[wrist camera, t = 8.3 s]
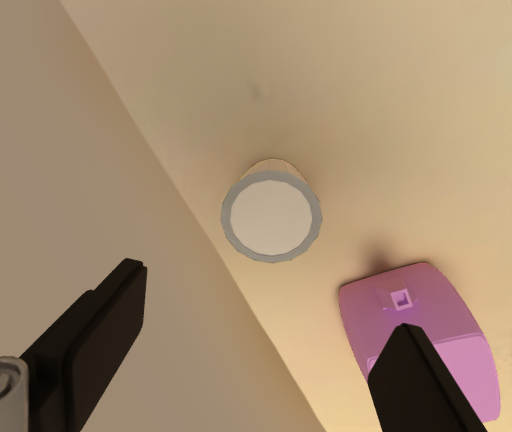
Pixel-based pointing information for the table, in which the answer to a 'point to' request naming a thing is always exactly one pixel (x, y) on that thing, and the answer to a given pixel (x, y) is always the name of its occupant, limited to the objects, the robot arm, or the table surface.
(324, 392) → the table surface
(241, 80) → the table surface
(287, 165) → the beige cup
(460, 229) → the table surface
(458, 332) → the teapot
